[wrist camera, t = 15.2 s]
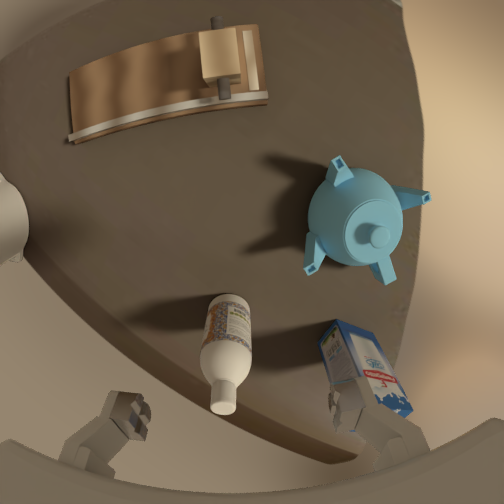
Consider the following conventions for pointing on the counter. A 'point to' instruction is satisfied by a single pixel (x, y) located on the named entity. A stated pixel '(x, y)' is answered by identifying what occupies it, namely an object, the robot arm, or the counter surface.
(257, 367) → the counter surface
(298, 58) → the counter surface
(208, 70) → the wooden block with pegs
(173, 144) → the counter surface
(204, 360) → the bath foam
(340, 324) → the milk carton
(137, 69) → the walnut board
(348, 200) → the teapot
